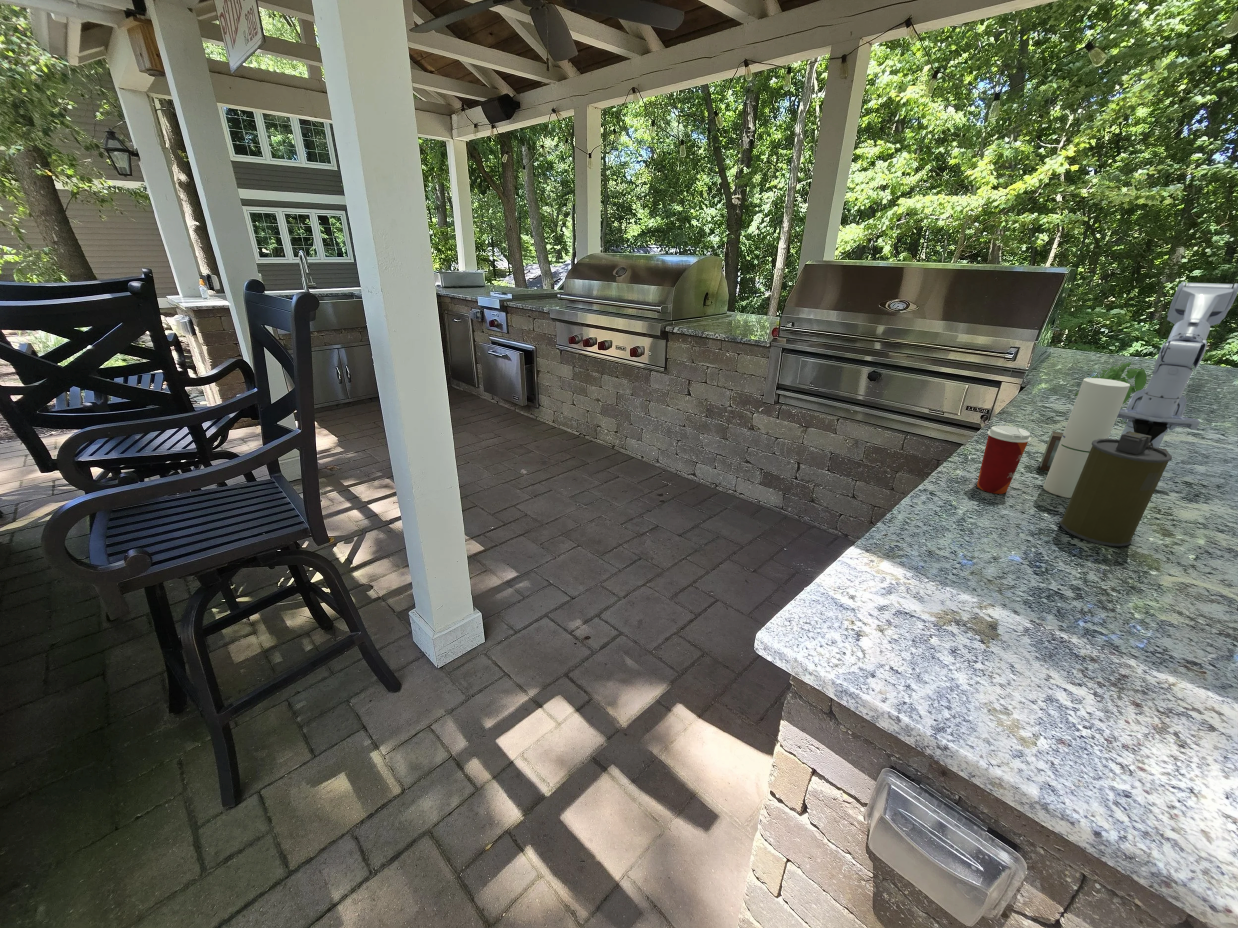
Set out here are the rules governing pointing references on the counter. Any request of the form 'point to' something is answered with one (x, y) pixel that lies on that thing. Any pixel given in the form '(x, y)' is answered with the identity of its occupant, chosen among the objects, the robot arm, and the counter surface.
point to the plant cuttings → (1117, 374)
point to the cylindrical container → (1084, 431)
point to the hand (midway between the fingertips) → (1136, 451)
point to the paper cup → (1001, 458)
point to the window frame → (1054, 450)
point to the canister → (1114, 489)
